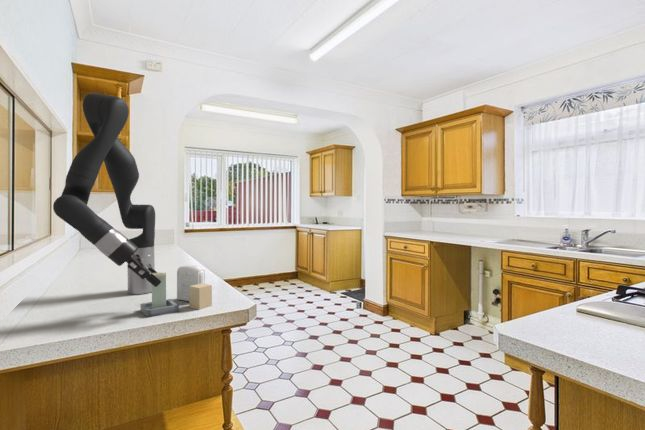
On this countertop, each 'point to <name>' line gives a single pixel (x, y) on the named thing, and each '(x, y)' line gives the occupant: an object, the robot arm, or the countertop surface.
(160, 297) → the tea tin
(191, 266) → the photo printer
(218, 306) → the countertop surface
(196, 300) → the kraft box
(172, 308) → the slate tray
